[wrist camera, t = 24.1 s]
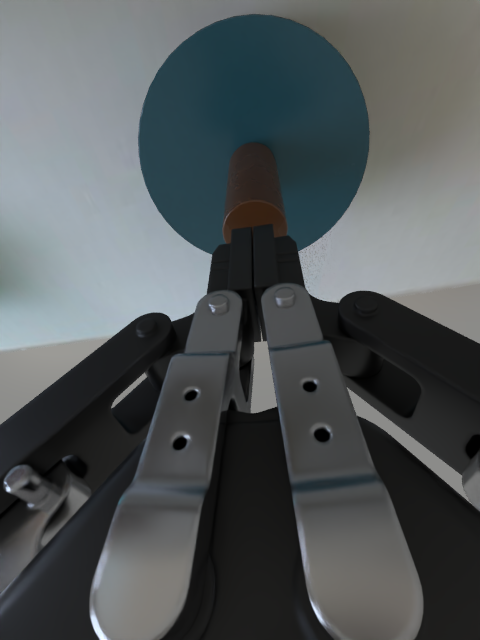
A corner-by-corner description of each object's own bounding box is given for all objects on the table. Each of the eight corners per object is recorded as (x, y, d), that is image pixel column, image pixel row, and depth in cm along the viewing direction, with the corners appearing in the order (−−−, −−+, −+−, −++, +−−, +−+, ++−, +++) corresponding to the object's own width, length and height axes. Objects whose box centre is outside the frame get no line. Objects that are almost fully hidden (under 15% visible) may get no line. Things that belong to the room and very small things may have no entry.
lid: (178, 263, 24) (156, 347, 18) (103, 43, 15) (17, 70, 10) (354, 241, 22) (392, 325, 17) (379, -16, 14) (473, -26, 8)
